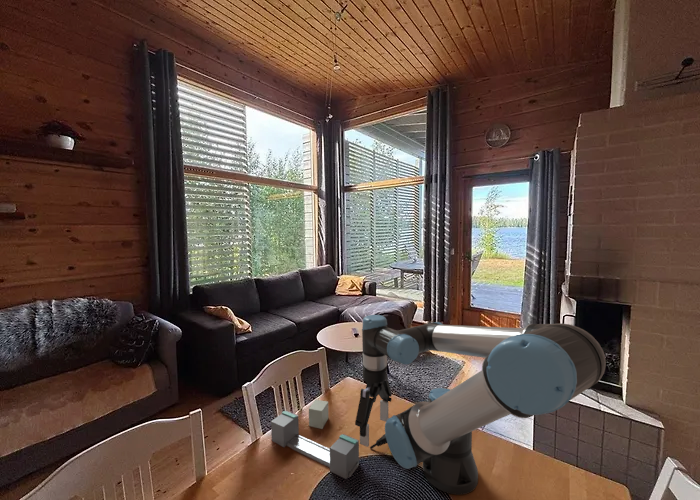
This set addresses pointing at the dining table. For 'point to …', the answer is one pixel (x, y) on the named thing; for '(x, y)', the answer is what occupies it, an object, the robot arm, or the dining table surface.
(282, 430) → the block
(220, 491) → the dining table surface
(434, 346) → the robot arm
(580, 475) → the dining table surface
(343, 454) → the block
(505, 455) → the dining table surface
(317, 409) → the block
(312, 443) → the rail
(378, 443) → the power plug
